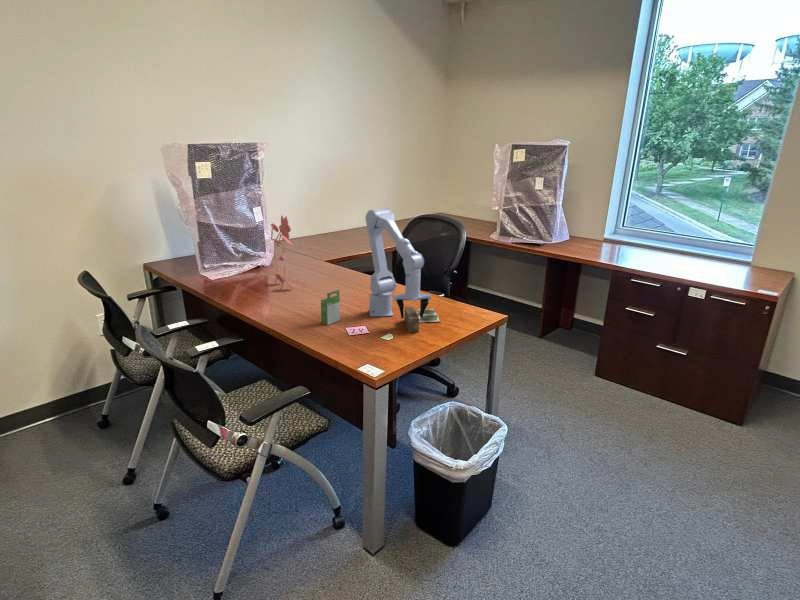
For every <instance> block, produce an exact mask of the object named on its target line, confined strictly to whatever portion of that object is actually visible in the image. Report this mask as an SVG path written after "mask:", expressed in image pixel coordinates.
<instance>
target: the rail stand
mask: <svg viewBox="0 0 800 600" xmlns="http://www.w3.org/2000/svg"><path fill="white" fill-rule="evenodd" d="M416 313H417V315H418V317H419V324H427V323H426V322H440V323H441V319H439V316H438V313H436V312H435V308H426V309H425V311H424V314H423V318H421V317H420V308H417V312H416Z"/></svg>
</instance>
